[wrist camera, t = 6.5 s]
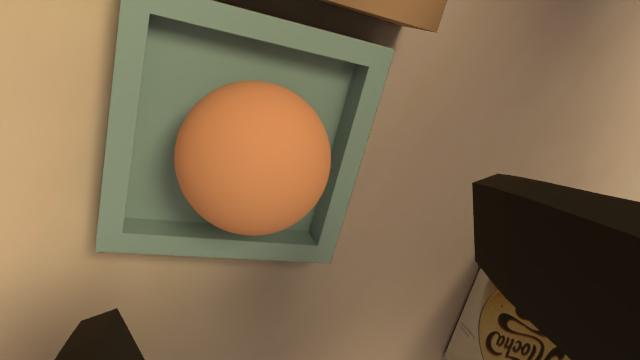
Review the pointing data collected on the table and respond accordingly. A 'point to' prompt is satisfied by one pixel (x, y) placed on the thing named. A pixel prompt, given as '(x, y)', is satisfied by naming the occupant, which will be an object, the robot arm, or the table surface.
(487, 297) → the coffee box
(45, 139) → the table surface
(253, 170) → the ball
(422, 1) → the rail
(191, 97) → the tray
